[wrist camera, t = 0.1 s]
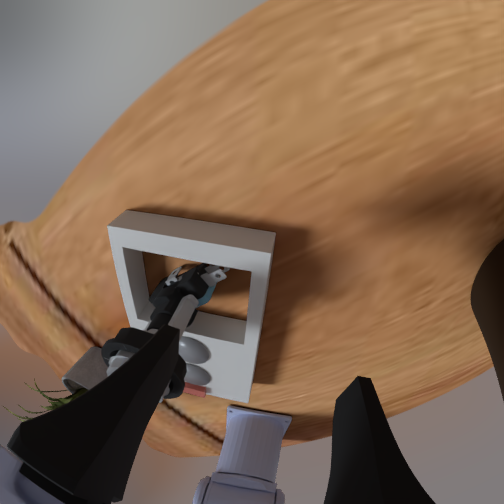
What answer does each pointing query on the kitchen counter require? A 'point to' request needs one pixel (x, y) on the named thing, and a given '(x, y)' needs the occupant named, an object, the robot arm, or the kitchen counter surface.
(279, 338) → the kitchen counter surface
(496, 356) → the olive oil
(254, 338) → the control panel
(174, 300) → the push button
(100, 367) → the house plant
